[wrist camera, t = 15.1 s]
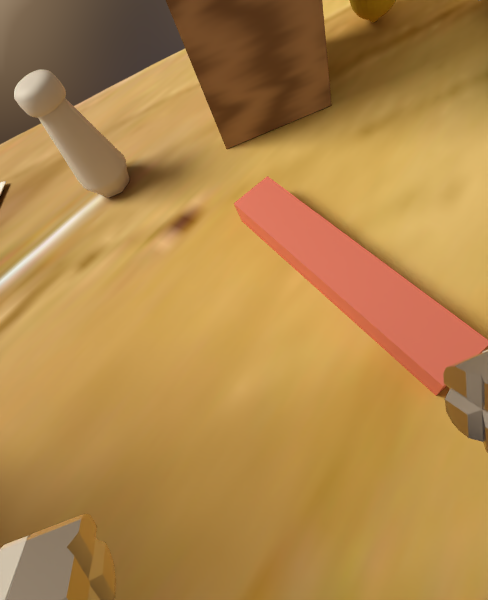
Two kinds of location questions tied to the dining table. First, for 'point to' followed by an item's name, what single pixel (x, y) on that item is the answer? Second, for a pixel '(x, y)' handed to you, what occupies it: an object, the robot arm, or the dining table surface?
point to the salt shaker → (73, 134)
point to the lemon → (371, 8)
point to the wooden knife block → (256, 61)
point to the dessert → (2, 186)
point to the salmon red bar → (361, 285)
